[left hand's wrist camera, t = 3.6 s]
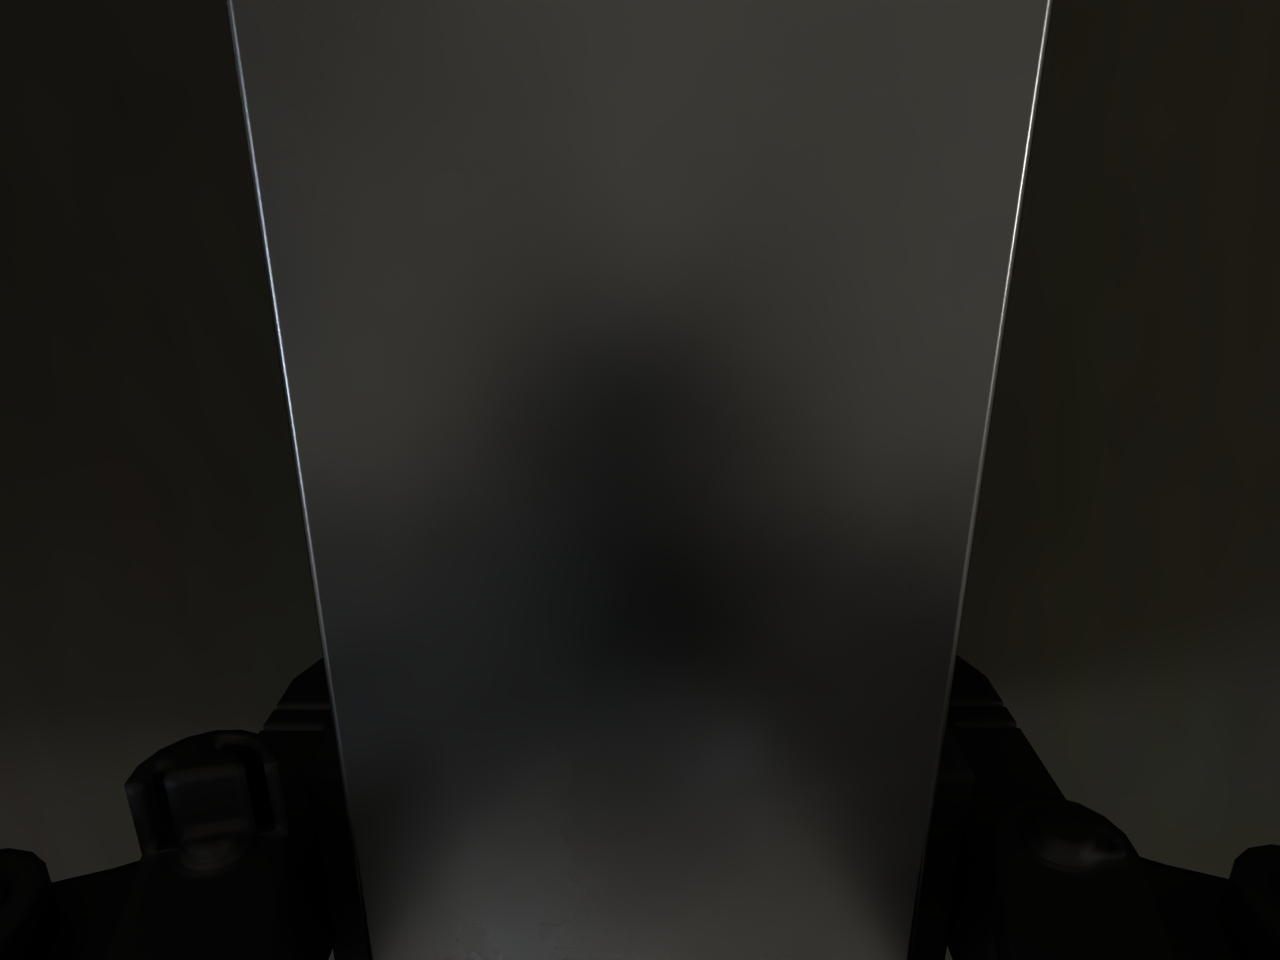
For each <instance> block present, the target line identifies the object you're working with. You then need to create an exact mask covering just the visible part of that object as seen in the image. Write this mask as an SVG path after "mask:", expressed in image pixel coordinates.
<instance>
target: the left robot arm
mask: <svg viewBox="0 0 1280 960" xmlns="http://www.w3.org/2000/svg"><path fill="white" fill-rule="evenodd" d="M124 786H125V790H126V794H127V798H128V802H129V806H130V810H131V813H132V817H133V821H134V825H135V829H136V833H137V837H138V841H139V845H140V848H141V852H142V857H141V860H139V861H136V862H133V863H130V864H126V865H123V866H120V867H117V868H113V869H108V870H104V871H100V872H95V873H91V874H87V875H83V876H78V877H74V878H70V879H65V880H61V881H57V882H53V883H51V879H50V876H49V873H48V870H47V867H46V863H45V862H44V861H42V860H41V859H40V858H39V857H38V856H36V855H35V854H34V853H33V852H30V851H24V850H17V849H11V848H7V849H0V960H328V959H329V956H330V954H331V951H332V948H333V952H334V958H335V960H368V955H367V948H366V942H365V935H364V928H363V922H362V915H361V908H360V901H359V895H358V888H357V881H356V875H355V868H354V861H353V854H352V848H351V841H350V834H349V827H348V821H347V814H346V807H345V801H344V794H343V787H342V780H341V774H340V767H339V760H338V754H337V747H336V740H335V733H334V727H333V720H332V713H331V707H330V700H329V693H328V686H327V680H326V673H325V666H324V660H323V658H322V659H320V660H319V661H318V662H316V663H315V664H314V665H312V666H311V667H310V668H308V669H307V670H306V671H304V672H303V673H301V674H300V675H299V676H297V677H296V678H295V679H293V681H292V683H291V684H290V686H289V687H288V689H287V690H286V692H285V693H284V695H283V696H282V698H281V700H280V701H279V703H278V704H277V710H273V712H272V714H271V715H270V717H269V718H268V720H267V721H266V723H265V724H264V729H263V731H260V732H259V734H256V733H252V732H248V731H245V730H215V731H211V732H207V733H203V734H199V735H195V736H191V737H187V738H185V739H182V740H180V741H178V742H176V743H174V744H171V745H169V746H167V747H165V748H163V749H160V750H159V751H157V752H156V753H155V754H153V755H152V756H151V757H149V758H148V759H147V760H145V761H144V762H143V763H141V764H140V765H139V766H137V768H136V769H135V770H134V772H133V773H132V775H131V776H130V777H129V779H128V780H127V782H126V783H125V784H124ZM947 946H948V948H949V951H950V954H951V956H952V959H953V960H1280V846H1279V845H1272V844H1271V845H1265V846H1259V847H1252V848H1248V849H1247V850H1245V851H1244V852H1243V853H1242V854H1241V855H1240V856H1238V857H1237V858H1236V859H1235V861H1234V864H1233V867H1232V871H1231V874H1230V877H1229V879H1226V878H1221V877H1217V876H1213V875H1208V874H1204V873H1200V872H1195V871H1191V870H1187V869H1182V868H1178V867H1174V866H1170V865H1165V864H1162V863H1159V862H1155V861H1152V860H1149V859H1145V858H1142V857H1140V856H1139V855H1138V853H1137V852H1136V850H1135V848H1134V847H1133V845H1132V844H1131V842H1130V841H1129V839H1128V837H1127V836H1126V834H1125V833H1123V832H1122V831H1121V830H1120V829H1119V828H1118V827H1116V826H1115V825H1114V824H1113V823H1112V822H1110V821H1109V820H1108V819H1107V818H1106V817H1104V816H1102V815H1100V814H1099V813H1097V812H1095V811H1093V810H1091V809H1089V808H1087V807H1085V806H1083V805H1081V804H1079V803H1076V802H1072V801H1068V800H1066V799H1065V797H1064V796H1063V794H1062V793H1061V791H1060V790H1059V788H1058V786H1057V785H1056V783H1055V782H1054V780H1053V779H1052V777H1051V776H1050V774H1049V773H1048V771H1047V769H1046V768H1045V766H1044V765H1043V763H1042V762H1041V760H1040V759H1039V757H1038V756H1037V754H1036V752H1035V751H1034V749H1033V748H1032V746H1031V745H1030V743H1029V742H1028V740H1027V739H1026V737H1025V735H1024V734H1023V732H1022V731H1021V729H1020V728H1017V727H1016V722H1015V720H1014V719H1013V717H1012V715H1011V714H1010V712H1009V711H1008V709H1007V708H1006V707H1003V702H1002V700H1001V698H1000V697H999V695H998V694H997V692H996V691H995V689H994V688H993V686H992V685H991V683H990V681H989V680H988V678H987V677H986V676H985V675H983V674H982V673H981V672H979V671H978V670H977V669H975V668H974V667H973V666H971V665H970V664H969V663H967V662H966V661H964V660H963V659H962V658H960V657H959V656H958V655H956V661H955V668H954V674H953V681H952V688H951V695H950V701H949V708H948V715H947V722H946V728H945V735H944V742H943V748H942V755H941V762H940V769H939V775H938V782H937V789H936V796H935V802H934V809H933V816H932V822H931V829H930V836H929V843H928V849H927V856H926V863H925V870H924V876H923V883H922V890H921V896H920V903H919V910H918V917H917V923H916V930H915V937H914V944H913V950H912V957H911V960H945V955H946V949H947Z"/></svg>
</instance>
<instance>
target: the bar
mask: <svg viewBox="0 0 1280 960" xmlns="http://www.w3.org/2000/svg"><path fill="white" fill-rule="evenodd" d="M225 1H226V8H227V14H228V21H229V28H230V35H231V41H232V48H233V55H234V62H235V68H236V75H237V82H238V88H239V95H240V102H241V109H242V115H243V122H244V129H245V135H246V142H247V149H248V156H249V162H250V169H251V176H252V182H253V189H254V196H255V203H256V209H257V216H258V223H259V229H260V236H261V243H262V250H263V256H264V263H265V270H266V277H267V283H268V290H269V297H270V303H271V310H272V317H273V324H274V330H275V337H276V344H277V350H278V357H279V364H280V371H281V377H282V384H283V391H284V397H285V404H286V411H287V418H288V424H289V431H290V438H291V445H292V451H293V458H294V465H295V471H296V478H297V485H298V492H299V498H300V505H301V512H302V518H303V525H304V532H305V539H306V545H307V552H308V559H309V565H310V572H311V579H312V586H313V592H314V599H315V606H316V612H317V619H318V626H319V633H320V639H321V646H322V653H323V660H324V666H325V673H326V680H327V686H328V693H329V700H330V707H331V713H332V720H333V727H334V733H335V740H336V747H337V754H338V760H339V767H340V774H341V780H342V787H343V794H344V801H345V807H346V814H347V821H348V827H349V834H350V841H351V848H352V854H353V861H354V868H355V875H356V881H357V888H358V895H359V901H360V908H361V915H362V922H363V928H364V935H365V942H366V948H367V955H368V960H911V957H912V950H913V944H914V937H915V930H916V923H917V917H918V910H919V903H920V896H921V890H922V883H923V876H924V870H925V863H926V856H927V849H928V843H929V836H930V829H931V822H932V816H933V809H934V802H935V796H936V789H937V782H938V775H939V769H940V762H941V755H942V748H943V742H944V735H945V728H946V722H947V715H948V708H949V701H950V695H951V688H952V681H953V674H954V668H955V661H956V654H957V648H958V641H959V634H960V627H961V621H962V614H963V607H964V600H965V594H966V587H967V580H968V574H969V567H970V560H971V553H972V547H973V540H974V533H975V526H976V520H977V513H978V506H979V499H980V493H981V486H982V479H983V473H984V466H985V459H986V452H987V446H988V439H989V432H990V425H991V419H992V412H993V405H994V399H995V392H996V385H997V378H998V372H999V365H1000V358H1001V351H1002V345H1003V338H1004V331H1005V325H1006V318H1007V311H1008V304H1009V298H1010V291H1011V284H1012V277H1013V271H1014V264H1015V257H1016V251H1017V244H1018V237H1019V230H1020V224H1021V217H1022V210H1023V203H1024V197H1025V190H1026V183H1027V177H1028V170H1029V163H1030V156H1031V150H1032V143H1033V136H1034V129H1035V123H1036V116H1037V109H1038V103H1039V96H1040V89H1041V82H1042V76H1043V69H1044V62H1045V55H1046V49H1047V42H1048V35H1049V28H1050V22H1051V15H1052V8H1053V2H1054V0H225Z"/></svg>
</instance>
